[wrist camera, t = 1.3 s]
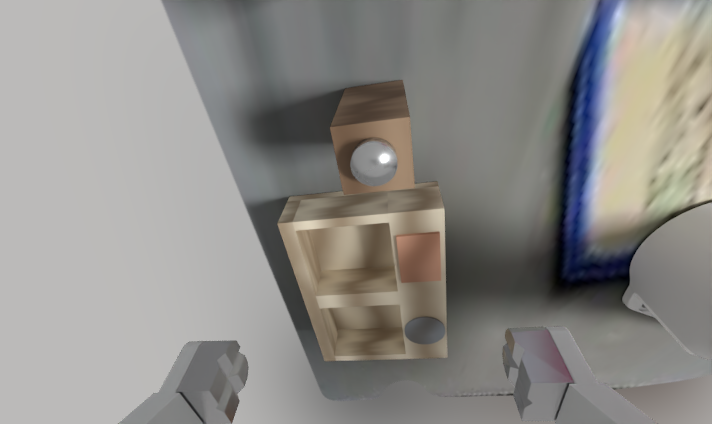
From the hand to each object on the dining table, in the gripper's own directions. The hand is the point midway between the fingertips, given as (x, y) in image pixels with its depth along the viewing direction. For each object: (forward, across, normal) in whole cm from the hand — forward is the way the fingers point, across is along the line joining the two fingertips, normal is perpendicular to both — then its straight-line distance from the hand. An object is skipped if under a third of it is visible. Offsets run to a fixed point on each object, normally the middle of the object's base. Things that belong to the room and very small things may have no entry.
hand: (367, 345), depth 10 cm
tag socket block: (+24, +2, +19) cm, 31 cm away
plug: (+24, 0, 0) cm, 24 cm away
